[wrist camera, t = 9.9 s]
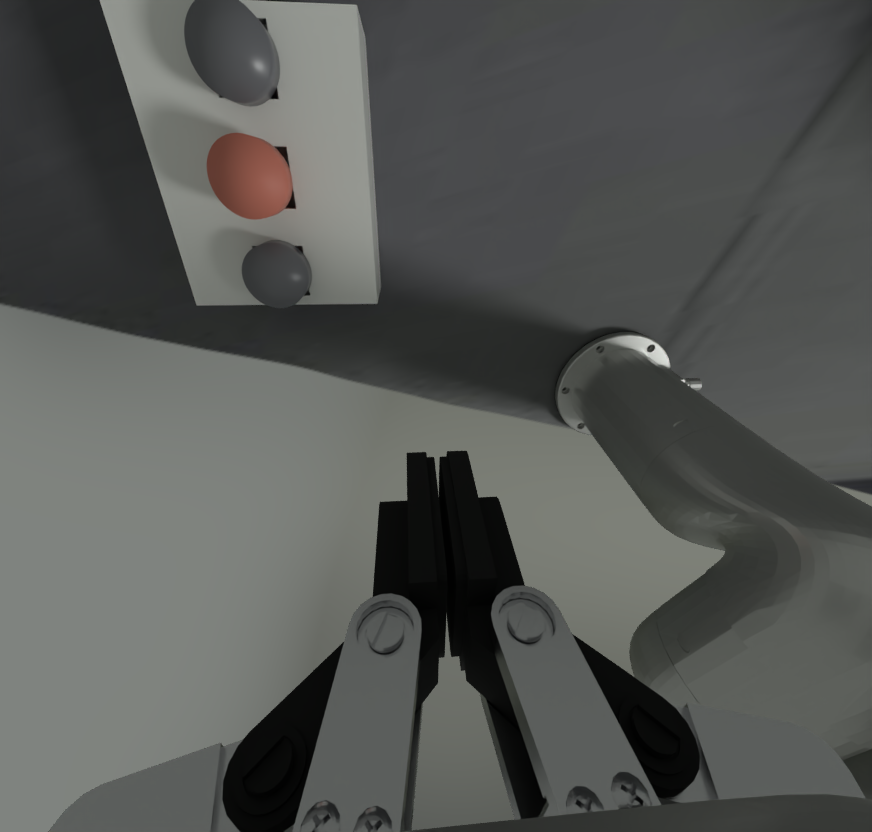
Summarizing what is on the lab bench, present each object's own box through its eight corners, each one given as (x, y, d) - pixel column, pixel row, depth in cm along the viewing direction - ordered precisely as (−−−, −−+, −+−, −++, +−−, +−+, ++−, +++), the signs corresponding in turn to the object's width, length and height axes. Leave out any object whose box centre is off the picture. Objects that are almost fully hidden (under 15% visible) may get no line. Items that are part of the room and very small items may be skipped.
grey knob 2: (315, 234, 31) (300, 243, 26) (323, 289, 33) (310, 307, 29) (260, 234, 31) (234, 243, 26) (271, 290, 33) (250, 308, 28)
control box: (365, 37, 27) (356, 4, 22) (381, 286, 36) (377, 303, 31) (157, 29, 26) (97, -7, 21) (226, 287, 35) (196, 305, 30)
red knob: (298, 141, 27) (276, 133, 22) (308, 213, 29) (290, 219, 24) (233, 140, 26) (196, 131, 22) (248, 212, 29) (218, 219, 24)
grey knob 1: (287, 28, 25) (260, -7, 20) (299, 115, 27) (277, 102, 22) (216, 26, 24) (172, -11, 20) (234, 113, 27) (199, 100, 22)
